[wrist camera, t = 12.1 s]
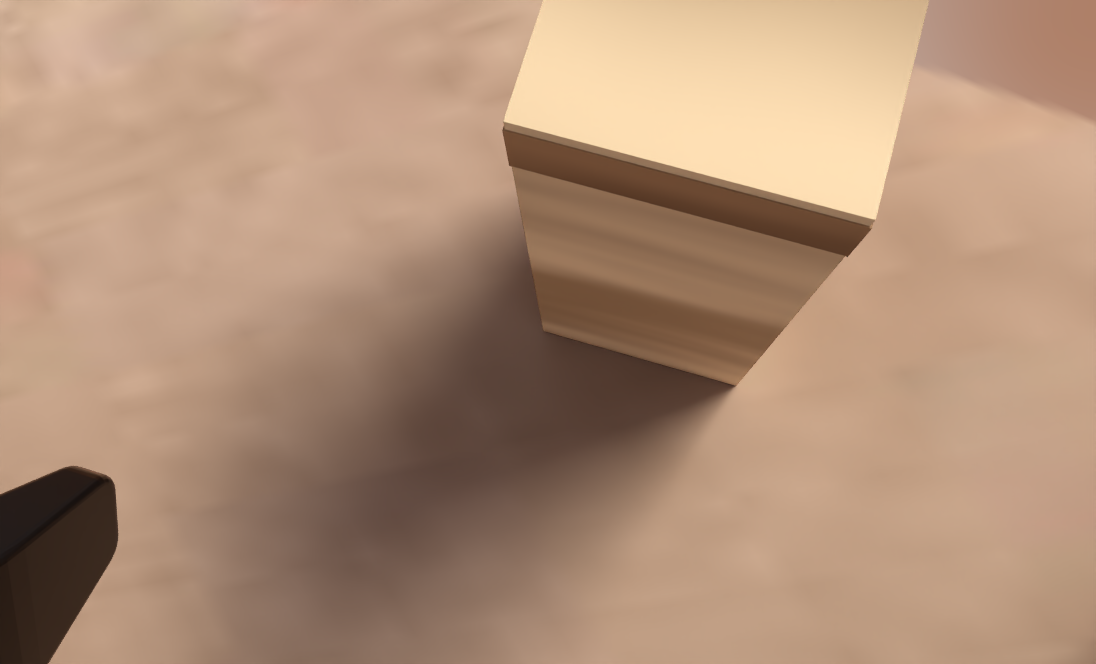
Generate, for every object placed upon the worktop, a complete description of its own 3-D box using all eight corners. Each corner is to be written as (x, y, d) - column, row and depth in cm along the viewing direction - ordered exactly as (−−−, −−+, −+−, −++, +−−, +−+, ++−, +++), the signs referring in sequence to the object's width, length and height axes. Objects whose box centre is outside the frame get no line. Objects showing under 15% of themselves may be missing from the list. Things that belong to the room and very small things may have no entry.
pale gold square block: (736, 387, 20) (876, 222, 10) (542, 331, 21) (500, 122, 11) (785, 201, 21) (958, -113, 11) (597, 151, 21) (605, -194, 12)
